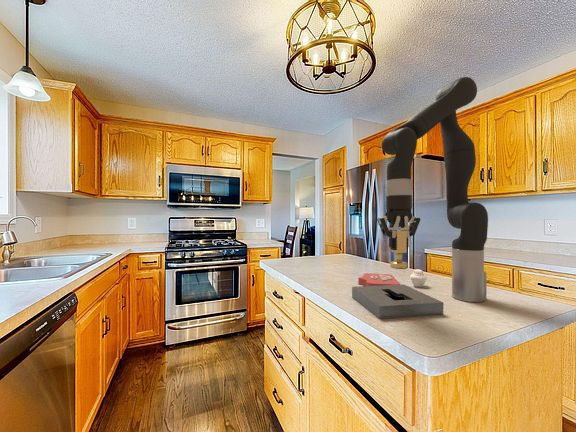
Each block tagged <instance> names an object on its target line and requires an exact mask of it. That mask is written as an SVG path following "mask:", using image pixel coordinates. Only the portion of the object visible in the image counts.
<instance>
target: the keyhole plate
mask: <svg viewBox="0 0 576 432" xmlns="http://www.w3.org/2000/svg"><path fill="white" fill-rule="evenodd" d="M351 297H352V298H353V299H354V300H355V301H357V302H358V304H361V306H363V308H365V309H366V310H368V311H369V312H370V313H371V314H372V315H374V316H376V318H378V319H379V320H384V319H397V318H398V319H401V318H413V317H429V316H442V315H444V301H441V300H439V299H437V298H436V297H435V298H434V297H432V296H430V295H428V294H427V293H426V294H425V293H424V292H421V291H419V290H417V289H415V288H413V287H410V286H409V285H407V284H404V283H403V284H400V285H382V286H362V285H361V286H351ZM391 297H395V298H403V299H400V300H398V299H396V300H395V299H392V298H391Z"/></svg>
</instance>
